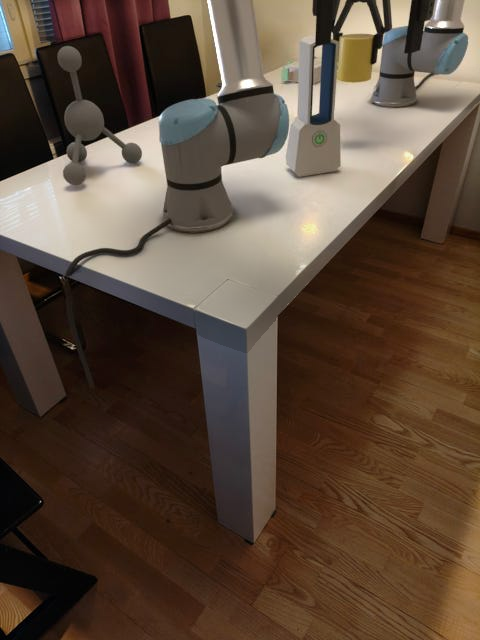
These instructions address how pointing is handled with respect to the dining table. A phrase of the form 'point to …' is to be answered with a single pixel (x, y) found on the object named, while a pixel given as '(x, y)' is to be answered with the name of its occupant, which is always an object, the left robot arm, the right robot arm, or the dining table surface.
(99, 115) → the molecular model
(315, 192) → the dining table surface
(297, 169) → the electronic device
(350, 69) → the canister
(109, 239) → the dining table surface
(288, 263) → the dining table surface
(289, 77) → the decorative block
